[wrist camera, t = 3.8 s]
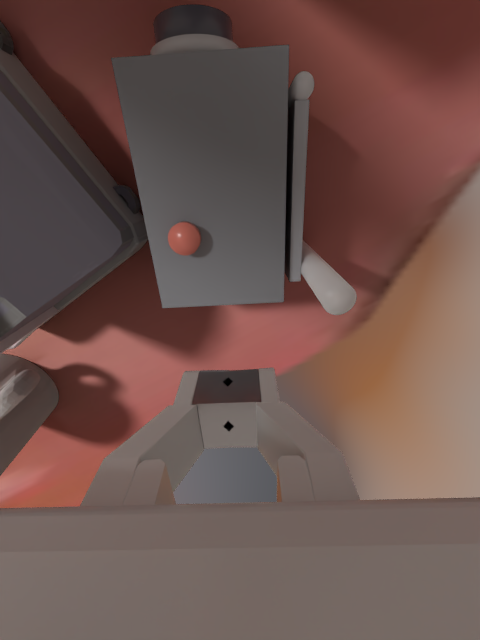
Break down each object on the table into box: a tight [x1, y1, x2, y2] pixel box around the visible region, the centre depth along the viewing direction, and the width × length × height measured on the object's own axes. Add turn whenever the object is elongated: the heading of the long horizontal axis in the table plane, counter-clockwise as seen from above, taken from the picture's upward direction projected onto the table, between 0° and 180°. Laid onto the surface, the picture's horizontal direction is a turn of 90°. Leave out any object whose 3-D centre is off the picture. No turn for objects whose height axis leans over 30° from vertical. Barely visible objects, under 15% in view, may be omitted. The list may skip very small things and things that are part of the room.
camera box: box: [111, 5, 289, 308], centre depth 19 cm, size 16×9×8 cm, turn 3°
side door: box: [284, 71, 357, 315], centre depth 17 cm, size 12×3×12 cm, turn 3°
